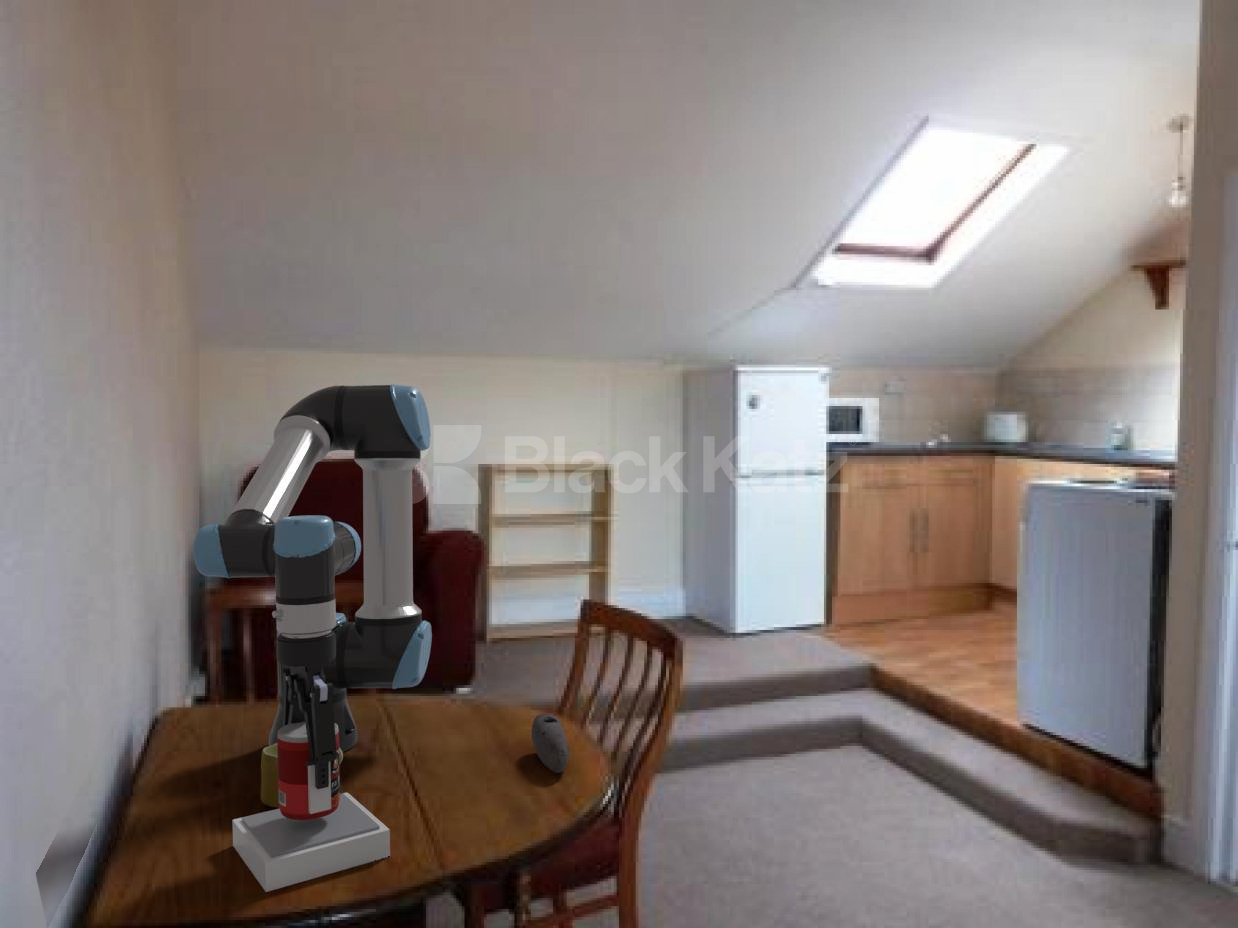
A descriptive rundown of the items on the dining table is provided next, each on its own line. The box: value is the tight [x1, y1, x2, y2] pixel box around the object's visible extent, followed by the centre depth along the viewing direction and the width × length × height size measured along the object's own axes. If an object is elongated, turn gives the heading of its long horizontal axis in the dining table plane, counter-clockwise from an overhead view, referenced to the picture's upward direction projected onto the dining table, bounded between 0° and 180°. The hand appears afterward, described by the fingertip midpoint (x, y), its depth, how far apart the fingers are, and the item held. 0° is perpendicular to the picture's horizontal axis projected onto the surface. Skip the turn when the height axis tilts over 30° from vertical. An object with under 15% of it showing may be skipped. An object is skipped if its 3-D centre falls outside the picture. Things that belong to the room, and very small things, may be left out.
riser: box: [231, 791, 391, 893], centre depth 125 cm, size 16×16×4 cm
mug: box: [260, 743, 344, 809], centre depth 143 cm, size 12×10×10 cm
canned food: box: [277, 721, 341, 820], centre depth 125 cm, size 8×8×11 cm
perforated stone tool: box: [531, 712, 569, 774], centre depth 158 cm, size 15×5×7 cm, turn 13°
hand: (309, 799), depth 125 cm, fingers closed on canned food, 8 cm apart
